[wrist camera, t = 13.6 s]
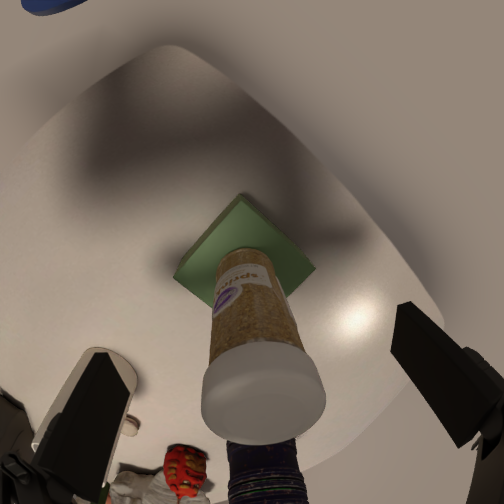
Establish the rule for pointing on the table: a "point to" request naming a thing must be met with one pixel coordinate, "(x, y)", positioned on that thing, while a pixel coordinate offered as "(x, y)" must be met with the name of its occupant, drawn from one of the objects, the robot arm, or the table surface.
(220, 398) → the sprinkles bottle
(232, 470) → the dark blue cylinder
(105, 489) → the wine bottle
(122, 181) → the table surface
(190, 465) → the red clay folk toy
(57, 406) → the cup
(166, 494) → the seashell
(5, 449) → the speaker
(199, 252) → the green block
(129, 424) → the macaroon
